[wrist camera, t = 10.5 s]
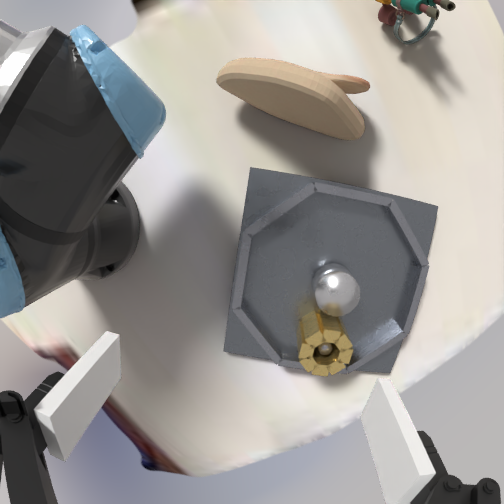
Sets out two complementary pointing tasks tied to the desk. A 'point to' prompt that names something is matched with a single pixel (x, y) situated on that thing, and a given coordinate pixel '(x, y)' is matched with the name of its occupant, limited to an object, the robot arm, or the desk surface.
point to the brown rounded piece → (297, 94)
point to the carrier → (327, 267)
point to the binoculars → (411, 3)
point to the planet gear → (315, 333)
